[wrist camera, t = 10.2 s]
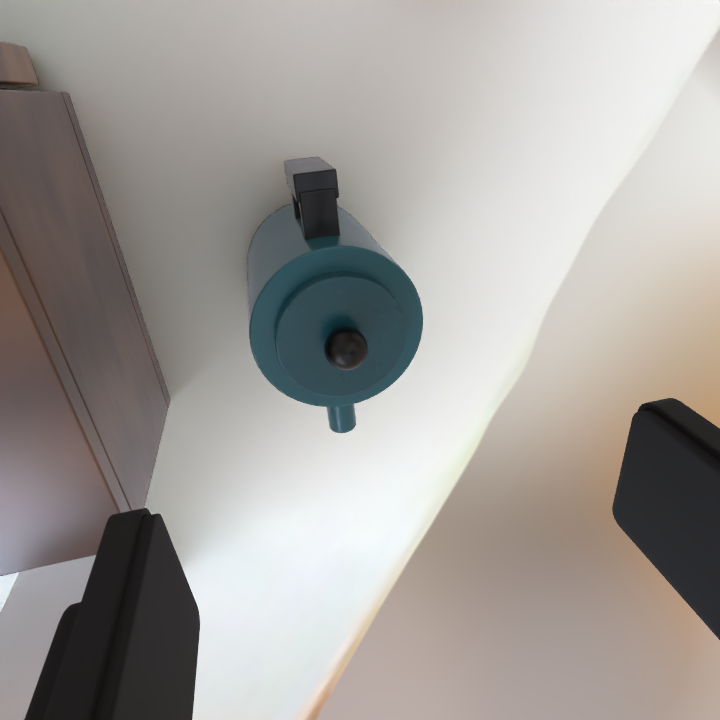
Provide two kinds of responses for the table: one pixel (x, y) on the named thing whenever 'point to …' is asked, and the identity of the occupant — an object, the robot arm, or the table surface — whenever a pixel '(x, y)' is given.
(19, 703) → the milk
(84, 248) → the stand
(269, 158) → the table surface
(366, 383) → the kettle
